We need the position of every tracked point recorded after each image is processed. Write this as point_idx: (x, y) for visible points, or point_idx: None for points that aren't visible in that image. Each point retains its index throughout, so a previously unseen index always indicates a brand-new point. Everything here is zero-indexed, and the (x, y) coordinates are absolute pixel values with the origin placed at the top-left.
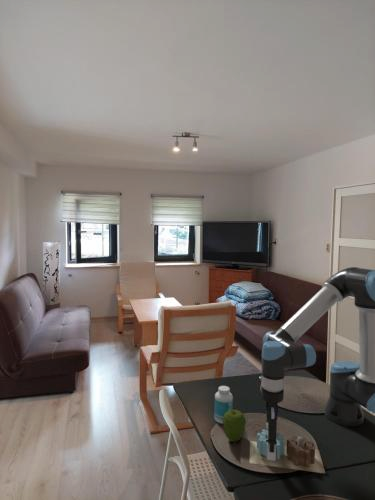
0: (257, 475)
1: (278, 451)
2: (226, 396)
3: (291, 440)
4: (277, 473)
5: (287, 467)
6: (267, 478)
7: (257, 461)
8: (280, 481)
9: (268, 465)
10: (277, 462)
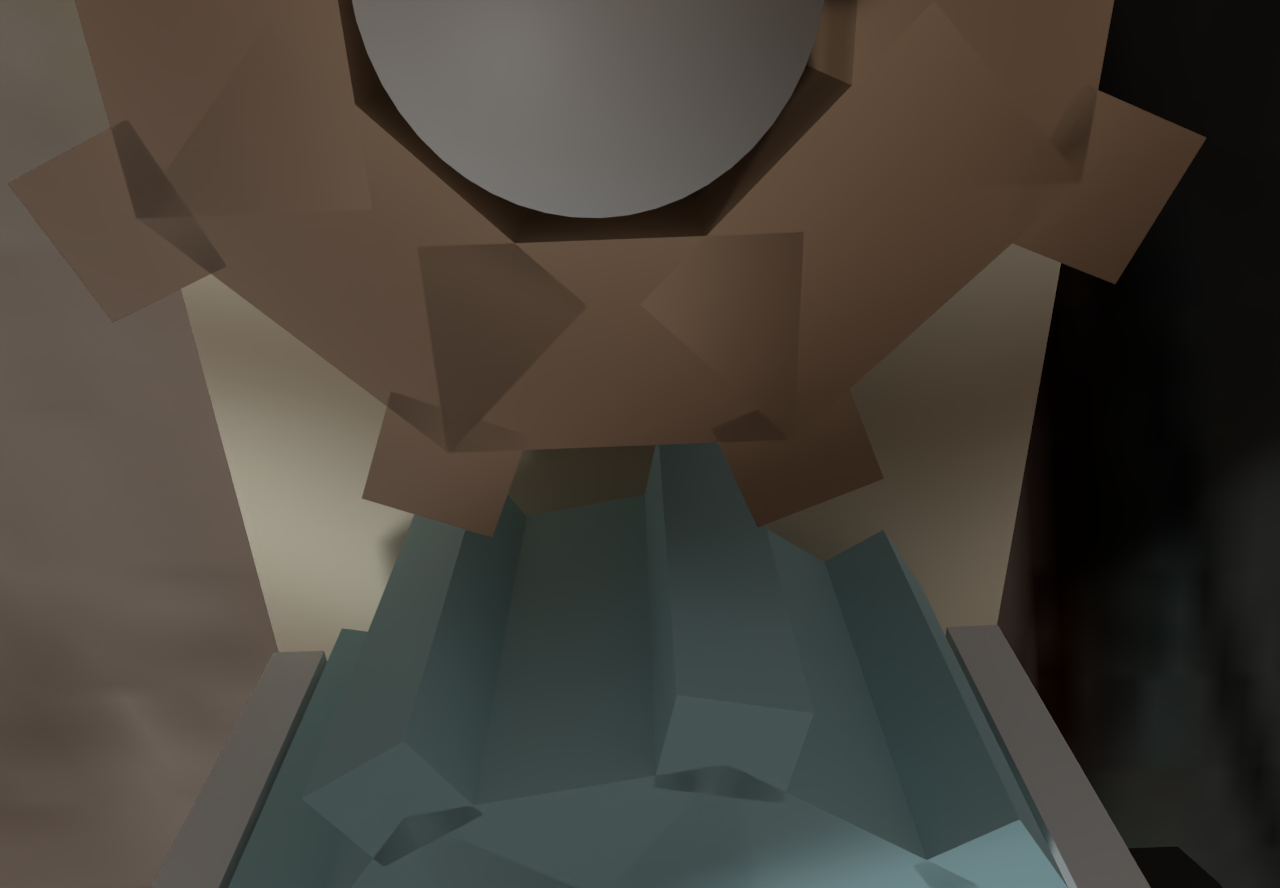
0: (1098, 752)
1: (967, 691)
2: None
3: (467, 379)
4: (1040, 482)
5: (1027, 341)
6: (1167, 629)
7: None
8: (1250, 439)
9: None
10: (877, 528)
